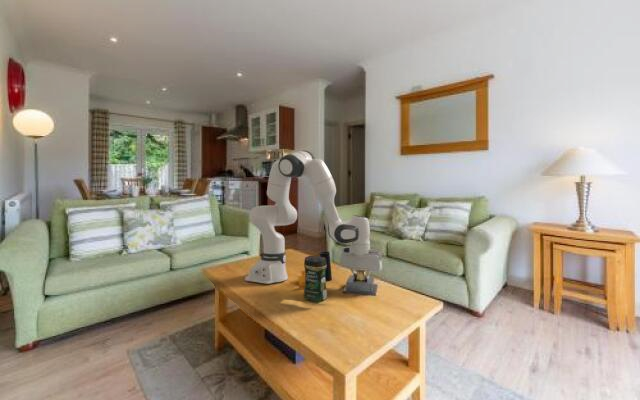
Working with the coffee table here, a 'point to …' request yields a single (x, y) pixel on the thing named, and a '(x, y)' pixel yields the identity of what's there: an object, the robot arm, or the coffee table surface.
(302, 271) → the pipe clamp
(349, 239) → the robot arm
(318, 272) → the coffee jar
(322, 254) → the pipe connector
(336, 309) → the coffee table surface
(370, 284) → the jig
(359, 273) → the tan cylinder
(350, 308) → the coffee table surface
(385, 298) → the coffee table surface
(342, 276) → the coffee table surface
